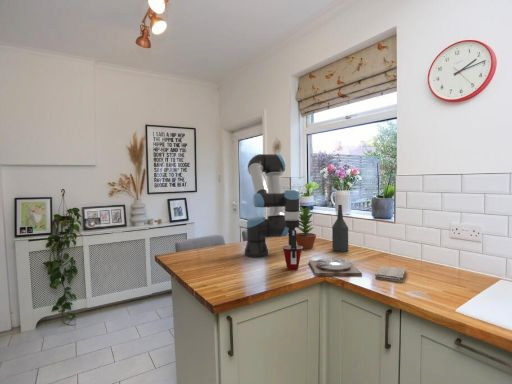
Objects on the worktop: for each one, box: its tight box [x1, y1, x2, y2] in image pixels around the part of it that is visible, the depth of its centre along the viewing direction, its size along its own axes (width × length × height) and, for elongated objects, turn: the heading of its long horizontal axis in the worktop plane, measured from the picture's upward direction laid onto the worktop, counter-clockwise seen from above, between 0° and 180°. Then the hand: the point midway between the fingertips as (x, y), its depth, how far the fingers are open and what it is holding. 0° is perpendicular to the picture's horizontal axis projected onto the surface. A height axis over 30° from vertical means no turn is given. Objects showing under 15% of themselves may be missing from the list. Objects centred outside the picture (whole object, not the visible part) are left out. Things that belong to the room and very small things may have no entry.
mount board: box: [308, 257, 363, 277], centre depth 149 cm, size 22×22×4 cm
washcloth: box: [374, 265, 406, 283], centre depth 138 cm, size 12×18×3 cm, turn 149°
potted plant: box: [296, 204, 317, 250], centre depth 198 cm, size 15×15×30 cm
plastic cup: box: [281, 244, 303, 271], centre depth 151 cm, size 11×11×12 cm
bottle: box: [331, 204, 349, 253], centre depth 189 cm, size 10×10×30 cm
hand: (292, 260), depth 151 cm, fingers open, 12 cm apart
